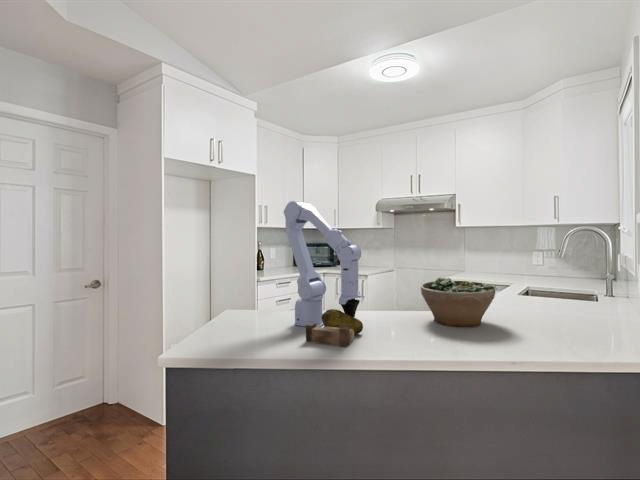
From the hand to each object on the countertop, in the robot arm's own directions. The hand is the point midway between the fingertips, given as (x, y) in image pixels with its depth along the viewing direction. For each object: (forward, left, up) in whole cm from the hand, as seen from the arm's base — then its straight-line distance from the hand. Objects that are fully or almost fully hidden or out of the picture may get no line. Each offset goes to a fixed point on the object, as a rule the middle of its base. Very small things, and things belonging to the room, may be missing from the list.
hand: (350, 321), depth 124 cm
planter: (+31, +26, -3) cm, 41 cm away
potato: (-1, -5, -3) cm, 6 cm away
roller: (0, -13, 0) cm, 13 cm away
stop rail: (-2, -15, -3) cm, 15 cm away
